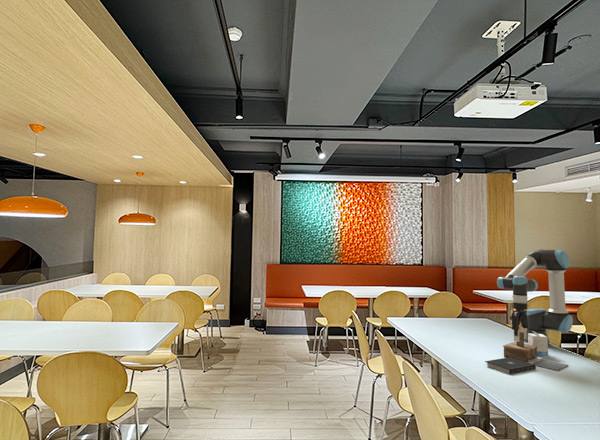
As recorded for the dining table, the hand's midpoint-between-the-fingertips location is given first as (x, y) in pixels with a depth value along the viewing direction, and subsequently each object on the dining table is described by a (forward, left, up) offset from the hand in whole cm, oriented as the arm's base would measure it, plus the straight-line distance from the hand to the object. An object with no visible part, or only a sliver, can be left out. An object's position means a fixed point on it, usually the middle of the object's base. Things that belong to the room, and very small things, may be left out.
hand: (520, 340), depth 227 cm
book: (+26, +5, -11) cm, 29 cm away
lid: (0, 0, -5) cm, 5 cm away
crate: (0, 0, -10) cm, 10 cm away
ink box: (-18, +3, -10) cm, 21 cm away
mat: (+2, +16, -10) cm, 19 cm away
